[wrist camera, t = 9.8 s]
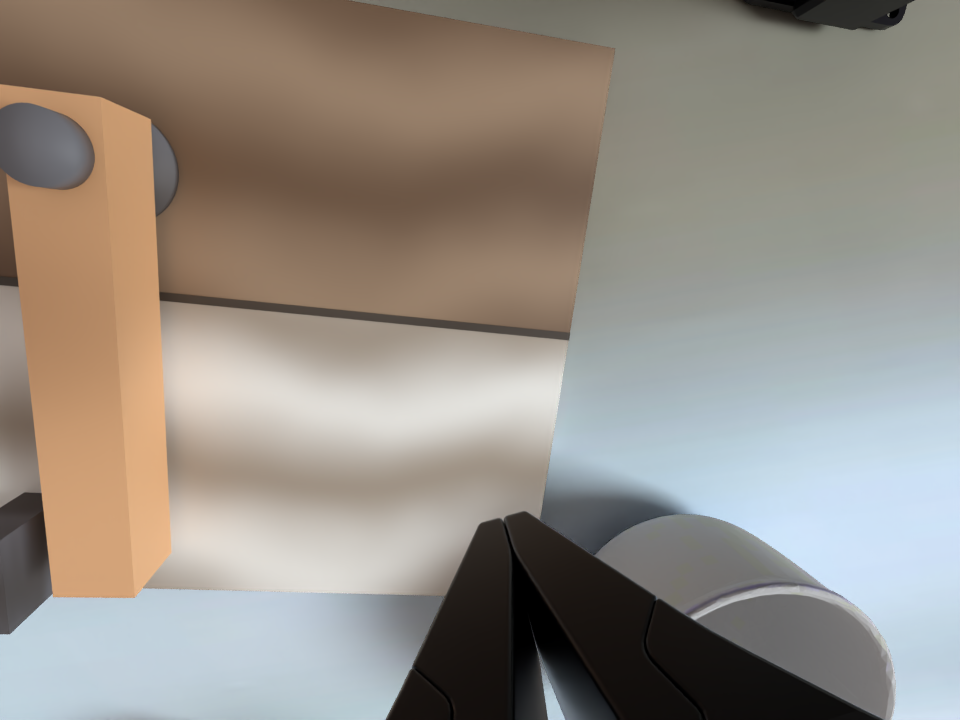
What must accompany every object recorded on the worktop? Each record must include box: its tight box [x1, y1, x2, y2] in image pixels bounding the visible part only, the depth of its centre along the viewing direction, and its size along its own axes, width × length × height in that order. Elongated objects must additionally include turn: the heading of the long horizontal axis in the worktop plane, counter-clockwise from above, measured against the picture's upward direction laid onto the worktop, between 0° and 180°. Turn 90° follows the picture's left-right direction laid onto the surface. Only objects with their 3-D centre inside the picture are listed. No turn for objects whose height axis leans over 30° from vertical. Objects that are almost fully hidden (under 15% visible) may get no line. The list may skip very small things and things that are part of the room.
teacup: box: [595, 514, 896, 720], centre depth 21 cm, size 14×11×8 cm
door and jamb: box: [0, 0, 615, 634], centre depth 17 cm, size 22×23×4 cm
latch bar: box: [0, 84, 172, 598], centre depth 16 cm, size 16×2×3 cm, turn 174°
